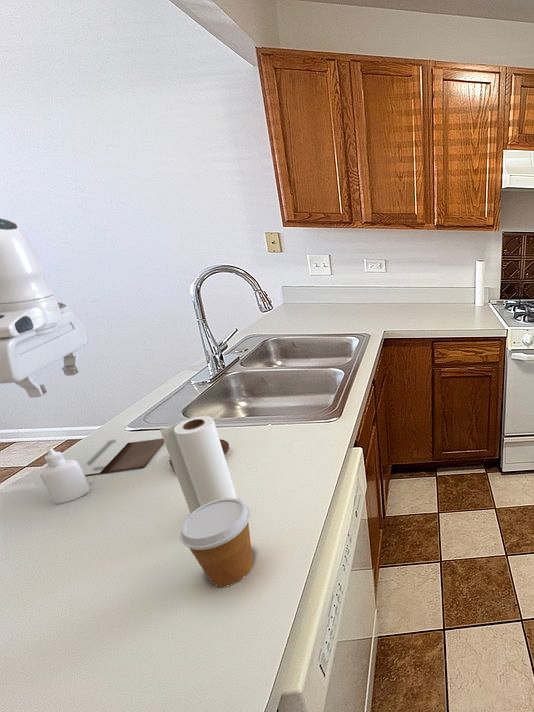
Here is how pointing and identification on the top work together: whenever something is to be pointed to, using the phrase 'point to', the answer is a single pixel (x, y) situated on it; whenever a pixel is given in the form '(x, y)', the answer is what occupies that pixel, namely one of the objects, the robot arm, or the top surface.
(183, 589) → the top surface
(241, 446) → the top surface
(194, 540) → the disposable coffee cup
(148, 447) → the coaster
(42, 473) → the eye dropper bottle
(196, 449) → the paper towel roll
